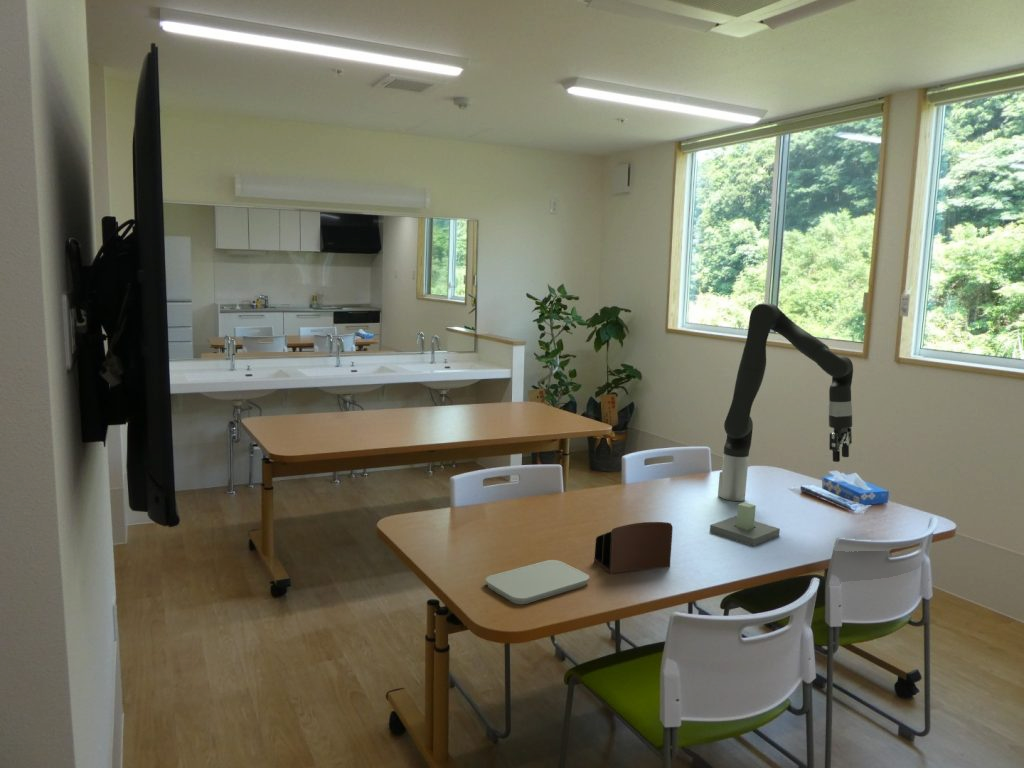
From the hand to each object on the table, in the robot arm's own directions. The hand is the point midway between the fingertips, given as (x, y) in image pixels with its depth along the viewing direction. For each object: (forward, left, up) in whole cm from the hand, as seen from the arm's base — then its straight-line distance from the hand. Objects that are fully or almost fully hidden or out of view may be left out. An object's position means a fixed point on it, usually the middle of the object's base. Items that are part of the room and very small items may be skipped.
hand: (840, 459), depth 262 cm
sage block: (-11, -41, -22) cm, 48 cm away
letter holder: (-17, -92, -22) cm, 96 cm away
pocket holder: (-11, -41, -22) cm, 48 cm away
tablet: (-23, -124, -23) cm, 128 cm away
